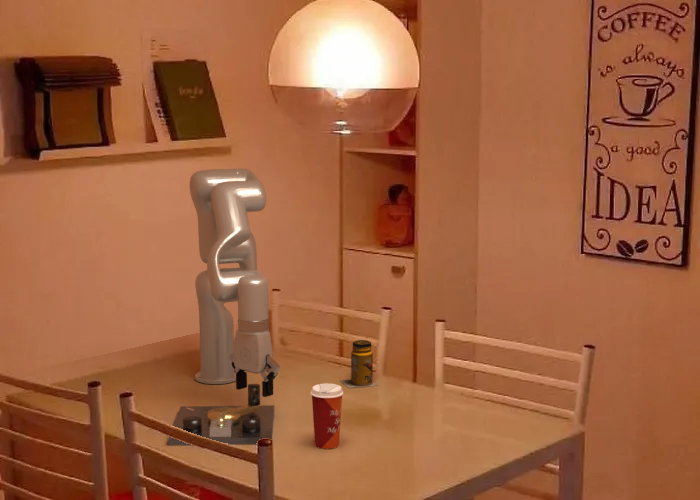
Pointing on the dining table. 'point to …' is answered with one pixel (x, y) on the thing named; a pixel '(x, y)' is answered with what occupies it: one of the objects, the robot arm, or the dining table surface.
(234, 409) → the crank dial
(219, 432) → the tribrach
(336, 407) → the paper cup
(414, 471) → the dining table surface
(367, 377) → the condiment
